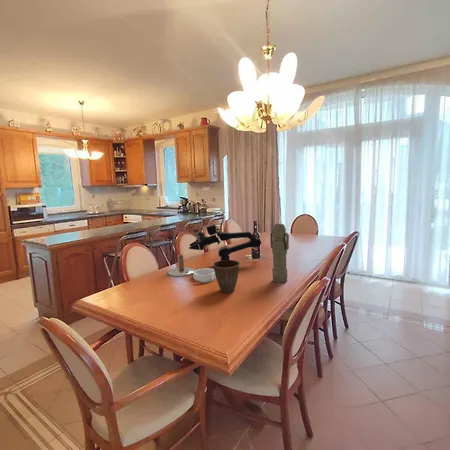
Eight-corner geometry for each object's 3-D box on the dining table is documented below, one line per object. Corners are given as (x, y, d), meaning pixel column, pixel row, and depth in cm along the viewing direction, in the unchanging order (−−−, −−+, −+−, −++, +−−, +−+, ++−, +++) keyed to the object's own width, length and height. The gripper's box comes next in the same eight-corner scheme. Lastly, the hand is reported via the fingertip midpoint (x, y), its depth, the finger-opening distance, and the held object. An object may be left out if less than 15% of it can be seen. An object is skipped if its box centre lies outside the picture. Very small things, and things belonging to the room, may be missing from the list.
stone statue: (286, 284, 168) (285, 226, 163) (268, 281, 175) (267, 224, 170) (292, 279, 176) (291, 223, 170) (274, 276, 182) (273, 222, 177)
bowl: (216, 275, 191) (216, 268, 190) (214, 282, 177) (214, 274, 176) (195, 275, 191) (195, 268, 191) (192, 283, 178) (191, 275, 177)
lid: (190, 266, 209) (189, 250, 207) (197, 273, 192) (196, 256, 190) (165, 270, 202) (164, 254, 200) (171, 278, 185) (169, 260, 184)
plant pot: (232, 297, 153) (230, 269, 150) (209, 293, 161) (207, 265, 158) (245, 288, 165) (244, 261, 163) (223, 284, 173) (222, 258, 171)
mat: (197, 268, 207) (197, 267, 206) (193, 278, 187) (193, 276, 187) (170, 269, 208) (170, 268, 207) (163, 279, 188) (163, 277, 188)
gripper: (206, 227, 213) (186, 233, 213) (207, 232, 195) (185, 238, 194) (210, 241, 215) (190, 247, 214) (212, 247, 197) (190, 253, 196)
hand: (189, 246), depth 205 cm, fingers open, 9 cm apart
